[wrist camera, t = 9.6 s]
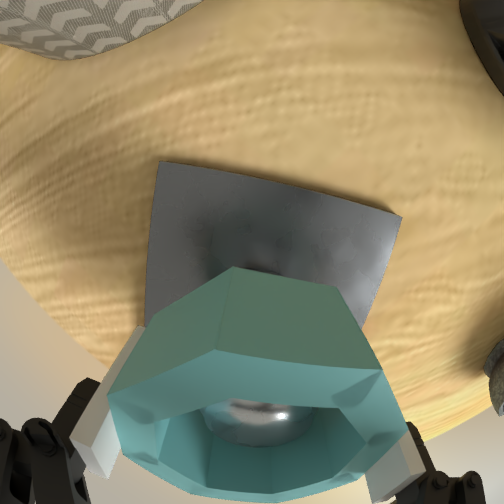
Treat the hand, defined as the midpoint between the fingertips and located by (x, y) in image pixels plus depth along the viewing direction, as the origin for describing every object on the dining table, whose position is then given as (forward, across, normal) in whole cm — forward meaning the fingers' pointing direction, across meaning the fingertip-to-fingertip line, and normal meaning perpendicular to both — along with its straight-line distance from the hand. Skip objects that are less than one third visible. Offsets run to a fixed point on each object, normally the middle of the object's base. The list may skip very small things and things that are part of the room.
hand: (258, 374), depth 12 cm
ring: (0, 0, 0) cm, 0 cm away
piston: (+8, 0, 0) cm, 8 cm away
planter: (+8, -15, +24) cm, 29 cm away
